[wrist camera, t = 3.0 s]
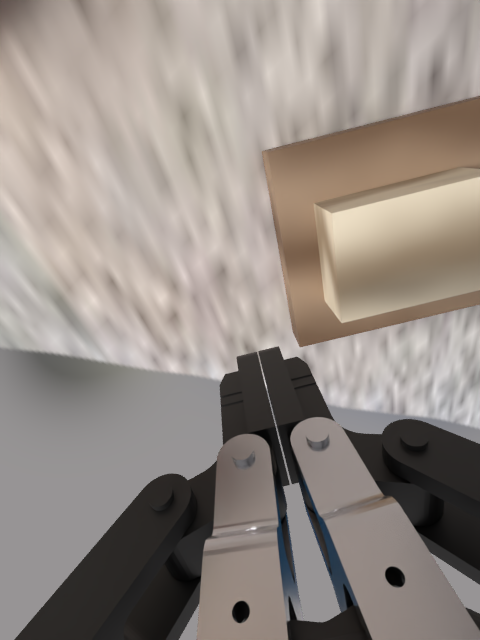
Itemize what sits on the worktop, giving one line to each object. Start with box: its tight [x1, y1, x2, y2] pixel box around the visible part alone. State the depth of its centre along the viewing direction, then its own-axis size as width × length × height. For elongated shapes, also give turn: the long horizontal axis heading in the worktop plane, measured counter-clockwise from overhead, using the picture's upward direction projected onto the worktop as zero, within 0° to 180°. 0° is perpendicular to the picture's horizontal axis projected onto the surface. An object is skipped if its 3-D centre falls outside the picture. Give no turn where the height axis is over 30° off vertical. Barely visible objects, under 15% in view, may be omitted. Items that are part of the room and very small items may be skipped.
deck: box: [262, 96, 480, 347], centre depth 21 cm, size 12×16×2 cm
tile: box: [314, 167, 480, 323], centre depth 18 cm, size 6×8×3 cm
